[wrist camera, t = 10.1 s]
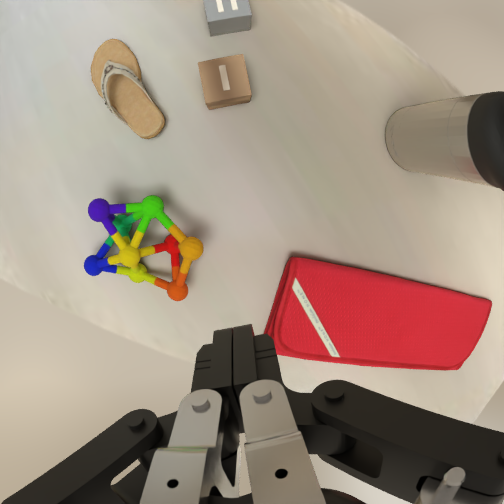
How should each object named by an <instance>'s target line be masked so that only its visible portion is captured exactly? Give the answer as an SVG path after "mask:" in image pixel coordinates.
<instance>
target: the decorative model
mask: <svg viewBox="0 0 504 504" xmlns="http://www.w3.org/2000/svg"><path fill="white" fill-rule="evenodd" d="M163 209H164V204H163V201H162V200H161V199H160V198H159V197H158V196H154V195H151V196H147V197H146V198H145V199H144V200H143V201H142V203H128V204H112V205H109V203H108V202H107V201H106V200H104V199H101V198H98V199H95V200H93V201H92V202H91V203H90V204H89V207H88V214H89V216H90V218H91V219H92V220H94V221H96V222H102V223H103V225H104V226H105V228H106V230H107V231H108V233H109V234H110V235H109V237H108V238H107V240H106V241H105V243H104V244H103V246H102V247H101V248H100V250H99V251H98V253H97V254H96V255H91V256H89V257H87V258H86V260H85V262H84V269H85V271H86V272H87V273H88V274H89V275H92V276H96V275H99V274H100V273H101V272H102V271H105V272H111V273H117V274H123V275H128V276H129V278H130V279H131V280H132V281H133V282H136V283H140V282H143V281H144V280H145V281H147V282H149V283H152V284H154V285H156V286H158V287H161V288H163V289H165V290H167V293H168V296H169V297H170V298H171V299H173V300H175V301H181V300H183V299H185V298H186V296H187V294H188V287H187V285H186V284H185V280H186V277H187V274H188V271H189V268H190V265H191V263H192V260H196V259H198V258H199V257H200V256H201V255H202V253H203V244H202V242H201V241H200V240H199V239H197V238H196V237H187V236H186V235H185V234H184V233H183V232H182V231H181V230H180V229H179V228H178V227H177V226H176V225H175V224H174V223H173V222H172V221H171V220H170V218H169V217H168V216H167V215H166V214H165V213H164V212H163ZM132 212H134V213H133V214H131V215H129V216H126V215H118V216H116V215H114V214H116V213H132ZM141 218H142V219H141ZM152 218H157V219H158V220H159V221H160V222H161V223H162V224H163V226H164V227H165V228H166V229H167V230H168V231H169V232H170V233H171V235H169V236H167V237H166V239H165V241H164V243H160V244H156V245H152V246H148V247H144V248H140V249H138V246H139V244H140V242H141V240H142V238H143V236H144V233H145V231H146V229H147V227H148V225H149V223H150V221H151V219H152ZM139 219H141V221H140V223H139V225H138V228H137V230H136V232H135V234H134V236H133V238H132V241H131V239H130V236H129V233H128V232H129V231H130V230H131V227H132V223H134V222H135V221H137V220H139ZM114 242H115V243H116V245H117V246H118V247H119V249H120V251H119V254H117V255H114V256H110V257H107V258H104V257H105V255H106V254H107V252H108V251H109V249H110V248H111V246H112V245H113V243H114ZM162 251H167V252H168V253H170V254H171V264H172V278H173V281H172V282H167V281H165V280H163V279H160V278H158V277H156V276H153V275H151V274H149V273H147V269H146V267H145V266H144V265H143V264H140V263H138V262H139V261H140V257H144V256H148V255H151V254H155V253H159V252H162ZM179 253H181V255H182V256H183V257H184V258H183V261H182V264H181V267H180V262H179ZM117 263H122V264H123V265H124V266H127V267H123V266H117V265H113V264H117ZM129 267H130V268H129Z"/></svg>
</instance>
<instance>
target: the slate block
mask: <svg viewBox="0 0 504 504" xmlns="http://www.w3.org/2000/svg"><path fill="white" fill-rule="evenodd" d="M203 1H204V6H205V11H206V16H207V21H208V26H209V31H210V36H216V35H221V34H227V33H233V32H239V31H246V30H250V25H251V17H252V13H251V9H250V5H249V1H248V0H203Z"/></svg>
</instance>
